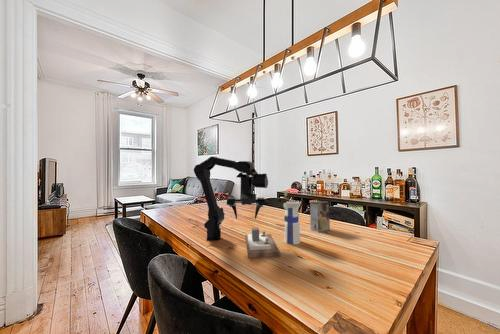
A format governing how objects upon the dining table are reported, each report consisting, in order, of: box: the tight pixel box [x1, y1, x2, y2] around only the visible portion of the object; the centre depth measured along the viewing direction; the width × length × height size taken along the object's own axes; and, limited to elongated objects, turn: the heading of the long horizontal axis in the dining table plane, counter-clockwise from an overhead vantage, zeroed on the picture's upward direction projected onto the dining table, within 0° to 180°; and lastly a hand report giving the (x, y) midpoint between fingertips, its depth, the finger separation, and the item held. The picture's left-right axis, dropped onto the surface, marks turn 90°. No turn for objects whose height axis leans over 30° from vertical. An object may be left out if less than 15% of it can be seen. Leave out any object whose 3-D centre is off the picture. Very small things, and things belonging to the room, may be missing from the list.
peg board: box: [244, 230, 281, 259], centre depth 99 cm, size 13×22×6 cm, turn 4°
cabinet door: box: [247, 227, 271, 250], centre depth 99 cm, size 9×16×6 cm, turn 4°
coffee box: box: [309, 200, 331, 233], centre depth 123 cm, size 9×6×16 cm
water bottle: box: [283, 190, 301, 246], centre depth 105 cm, size 8×9×25 cm
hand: (245, 218), depth 105 cm, fingers open, 9 cm apart
